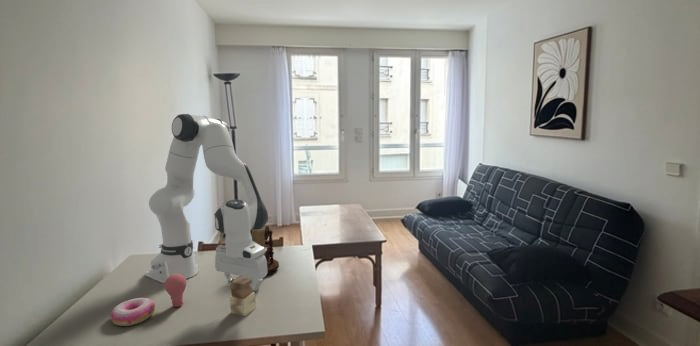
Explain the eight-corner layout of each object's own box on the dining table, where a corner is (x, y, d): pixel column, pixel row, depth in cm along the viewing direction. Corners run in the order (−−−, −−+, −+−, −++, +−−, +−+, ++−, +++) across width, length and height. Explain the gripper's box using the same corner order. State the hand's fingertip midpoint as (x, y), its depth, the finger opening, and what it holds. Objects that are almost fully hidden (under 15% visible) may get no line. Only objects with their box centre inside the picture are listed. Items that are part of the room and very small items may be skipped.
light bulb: (175, 313, 140) (171, 280, 138) (162, 308, 144) (159, 276, 142) (192, 304, 146) (189, 273, 144) (180, 299, 150) (177, 269, 148)
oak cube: (230, 312, 139) (229, 296, 138) (242, 305, 145) (241, 289, 144) (244, 316, 137) (243, 299, 136) (256, 308, 142) (254, 292, 141)
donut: (145, 304, 147) (144, 291, 146) (163, 316, 139) (161, 302, 138) (104, 320, 137) (103, 306, 136) (121, 333, 128) (119, 318, 128)
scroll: (239, 277, 169) (235, 231, 166) (251, 263, 183) (248, 220, 180) (273, 278, 167) (270, 231, 164) (283, 264, 182) (280, 221, 178)
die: (250, 298, 151) (264, 275, 152) (231, 286, 152) (245, 264, 153) (255, 296, 159) (268, 274, 160) (237, 285, 160) (250, 263, 161)
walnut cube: (231, 296, 139) (230, 282, 138) (241, 290, 143) (240, 276, 142) (243, 298, 137) (242, 284, 136) (252, 292, 141) (251, 279, 140)
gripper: (209, 247, 139) (212, 284, 141) (257, 255, 130) (259, 295, 132) (222, 241, 144) (225, 277, 147) (269, 248, 136) (271, 287, 138)
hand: (241, 286), depth 139 cm, fingers open, 8 cm apart
